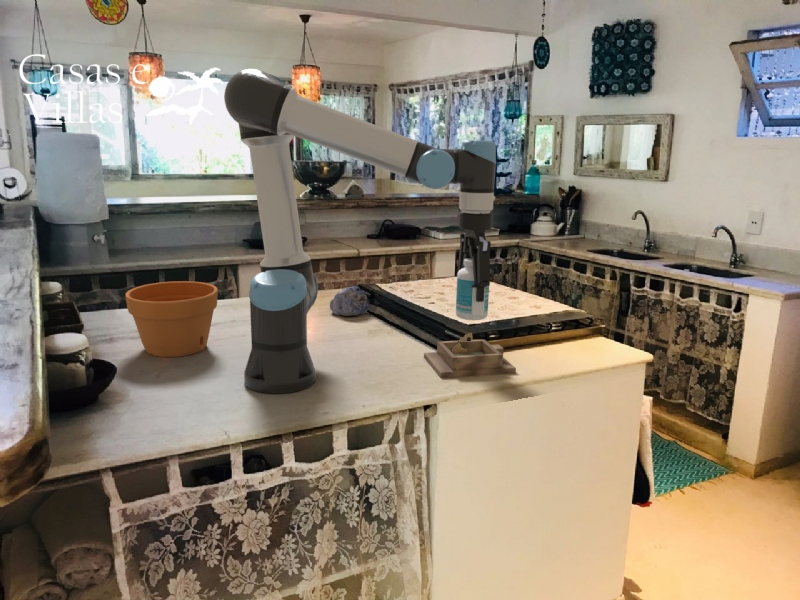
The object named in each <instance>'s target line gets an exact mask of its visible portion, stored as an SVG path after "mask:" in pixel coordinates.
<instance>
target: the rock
mask: <svg viewBox="0 0 800 600" xmlns="http://www.w3.org/2000/svg"><path fill="white" fill-rule="evenodd" d="M369 305H370V301H369V297H368V295H367V293H366V291H365V290H362V288H361V287H360V286H358V285H357V286H356V285H355V286H350V287H344V288H342V289H341V290H339V292H337V293H335V295H334V297H333V298H332V299H331V300H330V302H329V310H330V311H331V312H332V313H333V314H334V315H336V316H344V317H346V316H347V317H351V316H361V315H364V314H366V313H367V312H368V310H369V309H370V307H369Z"/></svg>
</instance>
